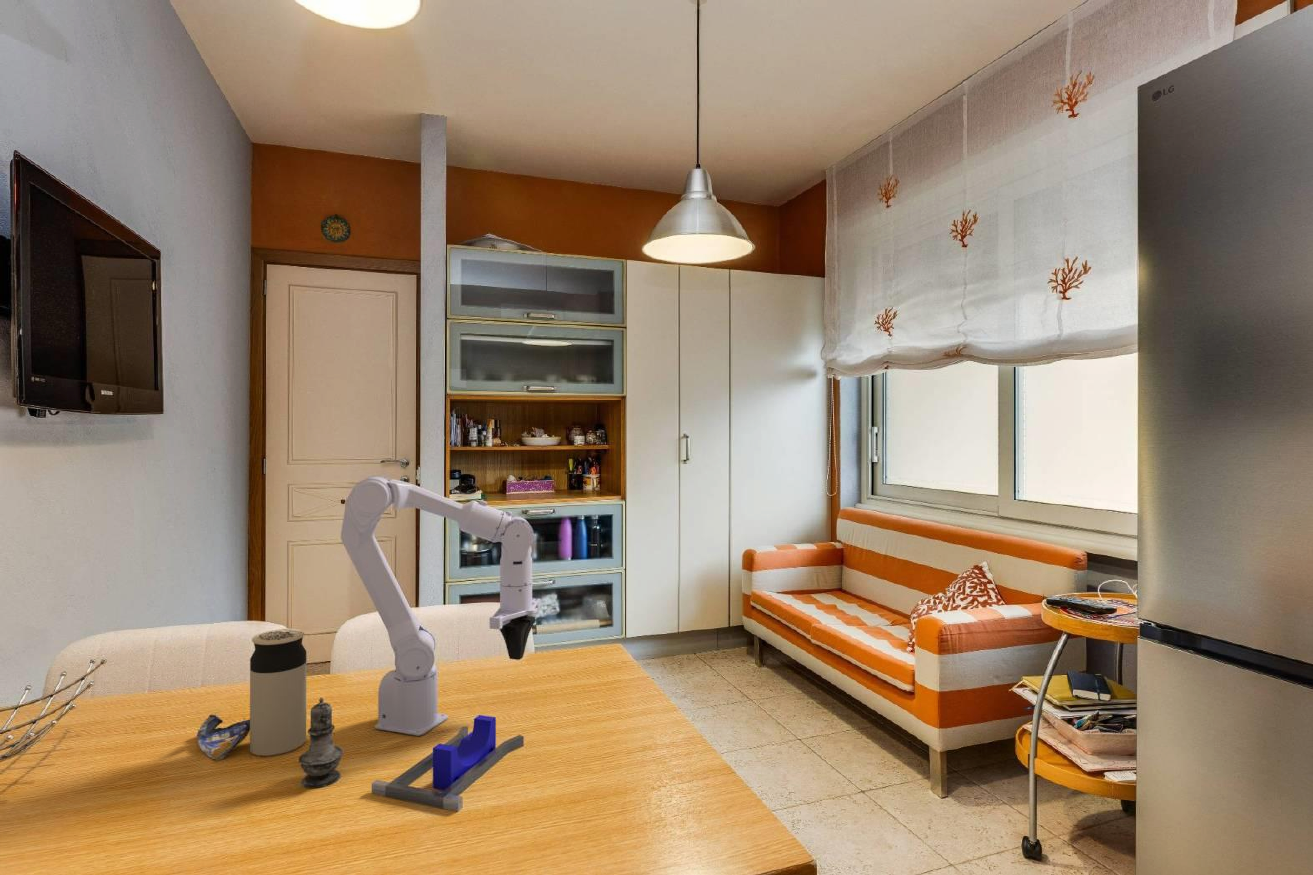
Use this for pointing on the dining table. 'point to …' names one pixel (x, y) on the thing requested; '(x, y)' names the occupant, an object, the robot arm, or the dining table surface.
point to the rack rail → (451, 794)
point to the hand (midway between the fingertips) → (516, 658)
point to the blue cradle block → (463, 753)
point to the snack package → (220, 735)
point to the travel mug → (277, 692)
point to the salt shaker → (321, 750)
